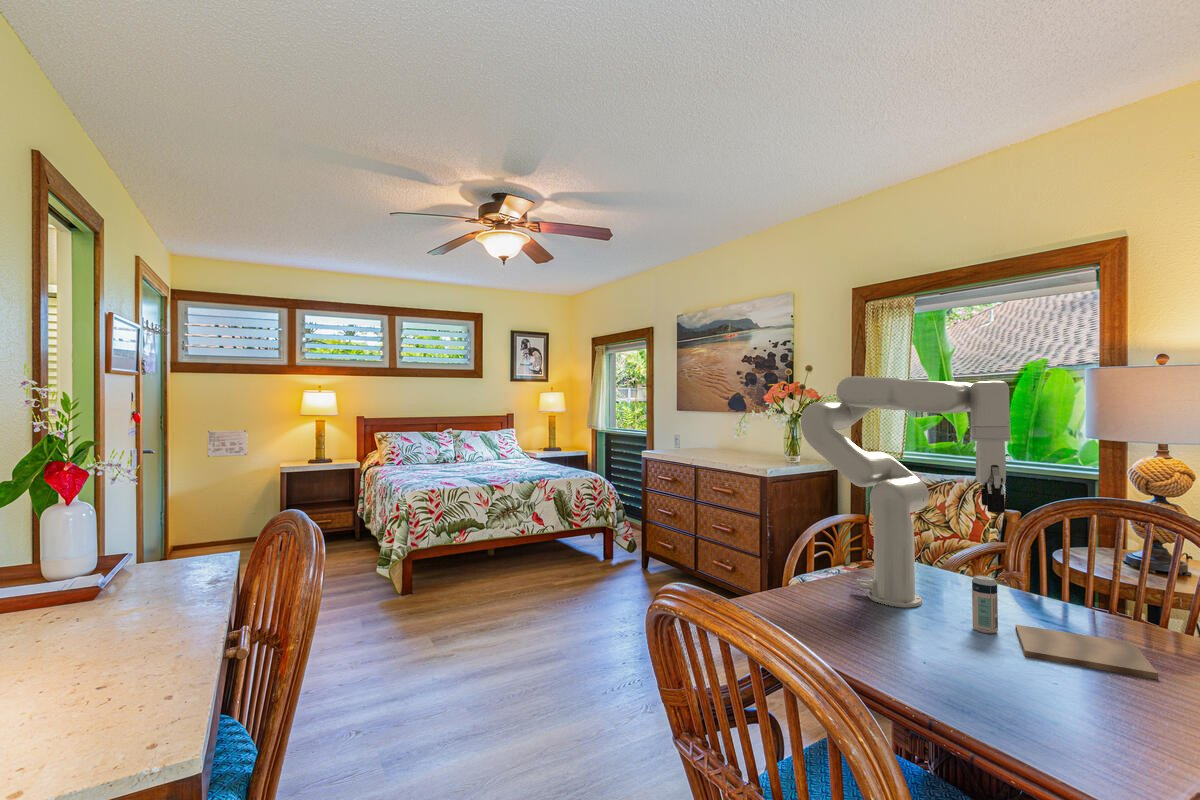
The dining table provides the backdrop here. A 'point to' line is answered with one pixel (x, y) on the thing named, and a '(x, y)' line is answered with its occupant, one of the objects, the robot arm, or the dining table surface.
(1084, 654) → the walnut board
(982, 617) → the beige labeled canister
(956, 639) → the dining table surface
